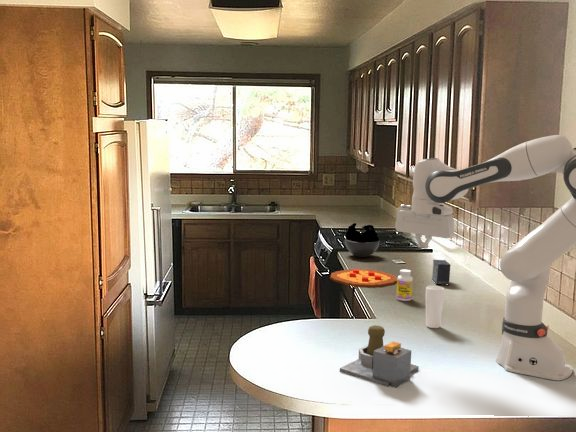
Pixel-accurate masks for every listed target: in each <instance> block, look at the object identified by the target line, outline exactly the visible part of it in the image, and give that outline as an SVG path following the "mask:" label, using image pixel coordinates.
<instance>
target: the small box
mask: <svg viewBox="0 0 576 432" xmlns="http://www.w3.org/2000/svg"><path fill="white" fill-rule="evenodd" d="M432 261H433V262H432V274H431V275H432V277H431V281H432V280H433V281H434V282H435V283H436V284H449V285H450V277H451V276H450V275H451V264H450V263H449V262H448V261H447V260H446V259H444V260H443V259H433V260H432ZM433 281H432V282H433ZM434 282H433V283H434ZM435 283H434V284H435ZM436 284H435V285H436Z"/></svg>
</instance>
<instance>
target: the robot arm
mask: <svg viewBox="0 0 576 432" xmlns="http://www.w3.org/2000/svg"><path fill="white" fill-rule="evenodd" d="M552 173H558V174H562V175H563V181H564V184H565V186H566V188H567V190H568V191H569V193H570V194H571V197H570V199H569V200H568V201H566V202H565V203H564V204H563V205H561V206H560V207H559V208H558V209H557V210H556V211H554V212H553V213H552V214H551V215H550V216H549V217H548V218H547V219H545V220H544V221H543V222H542V223H541V224H540V225H539V226H537V227H536V228H534V229H533V230H532V231H531V232H529V233H528V234H526V235H525V236H524V237H523V238H521V239H520V240H519V241H517V242H515V244H514V245H512V246H511V247H510V248H509V249H508V250H507V251H506V252H504V254H503V255H502V256H501V259H500V262H499V268H500V271H501V273H502V274H503V276H504V277H505V278H506V279H508V280H510V284H509V287H508V290H507V292H506V295H505V307H504V317H503V320H502V322H501V323H502V324H501V334H502V337H501V343H500V347H499V350H498V353H497V355H496V358H495V361H496V362H497V363H498V364H499V365H500V366H502V367H503V368H504V370H505V371H507V372H510V373H516V374H522V375H527V376H531V377H536V378H540V379H541V378H542V379H547V380H552V381H562V380H566V379H567V378H569V377H571V375H573V367H572V366H571V365H570V364H566V358H565V353H564V350H563V349H562V348H561V347H560V346H559V345H558V344H557V343H556V342H555V341H553V340H552V338H550V336H548V330H549V328H550V325H545V324H544V322H542V320H543V308H544V300H545V294H546V289H547V288H548V287H547V286H548V282H549V279H550V273H551V270H552V269H551V268H552V266H553V264H554V262H555V261H556V260H558V259H559V258H561V257H562V256H564V255H565V254H566V253H568V252H569V251H570V250H571V249H573V248H575V246H576V147H573V145H572V143H571V142H570V140H569V139H568V138H567V137H566V136H564V135H562V134H554V135H553V134H552V135H548V136H542V137H538V138H534V139H531V140H528V141H525V142H522V143H519V144H517V145H515V146H513V147H510V148H508V149H507V150H505V151H503V152H501V153H500V154H498V155H496V156H494V157H493V158H490V159H488V160H485V161H483V162H481V163H478V164H475V165H472V166H468V167H465V168H462V169H457V168H453V167H451V166H449V165H447V164H446V163H445V162H443V161H442V160H441V159H440V158H436V157H433V158H423V159H420V160H418V161H417V162H416V163H415V166H414V170H413V177H412V179H413V180H412V187H413V192H412V193H413V194H412V196H411V205H410V204H408V205H407V204H401V205H399V206H398V207H397V208H396V209H397V210H396V219H395V227H394V228H395V231H396V232H398V233H399V232H400V233H407V234H414V238H415V240H416V242H417V248H418V249H425V250H427V249H428V248H429V243H430V242H431V240H432V238H433V237H434V238H441V239H442V238H443V239H451V238H452V237H453V236H454V235H455V219H454V216H452V214H453V212H454V209H453V207H451V206H449V205H447V204H445V203H447V202H450V201H454V200H457V199H460V198H463V197H464V196H466V195H467V194H468V192H469V190H470V189H472V188H476V187H479V186H483V185H485V184H489V183H490V184H491V183H498V182H516V181H525V180H530V179H535V178H537V177H538V178H539V177H541V176H544V175H547V174H552ZM423 236H424V239H426V240H425V241H423V240H422V237H423Z"/></svg>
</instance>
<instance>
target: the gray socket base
mask: <svg viewBox="0 0 576 432" xmlns="http://www.w3.org/2000/svg"><path fill="white" fill-rule="evenodd" d="M367 349H368V345H365V346H363V347H360V348H359V349H358V359H356V360H354V361H351V362H350V363H347V364H345V365H343V366H341V367H339V372H341V373H344V374H348V375H350V376H353V377H357V378H359V379H362V380H365V381H369V382H371V383H375V384H378V385H381V386H385V387H387V388H388V387H393V388H398V387H400V386H402V385H403V384H405V383H407V382H408V381H410V380H411V374H413V373H415V372H417V371H418V370H419V366H418V365H417V364H412V349H408V348H404V347H401V348H400V349H398V353H396V354H393V353H390V352H387V351H386V350H385V345H383V347H381V348H379V349H376V350H374V354H373V356H372V355H369V354H367Z"/></svg>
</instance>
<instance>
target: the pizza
mask: <svg viewBox="0 0 576 432" xmlns="http://www.w3.org/2000/svg"><path fill="white" fill-rule="evenodd" d="M397 278H398V277H397V275H393V274H392V273H388V272H384V271H381V270H374V269H361V268H353V269H349V268H348V269H344V270H338V271H334V272H331V274H330V280H331V281H333V282H335V283H338V284H342V285H345V286H351V287H357V288H358V287H361V288H382V287H386V286H387V287H388V286H391V285H393V286H394V285H395V284H397Z"/></svg>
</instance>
